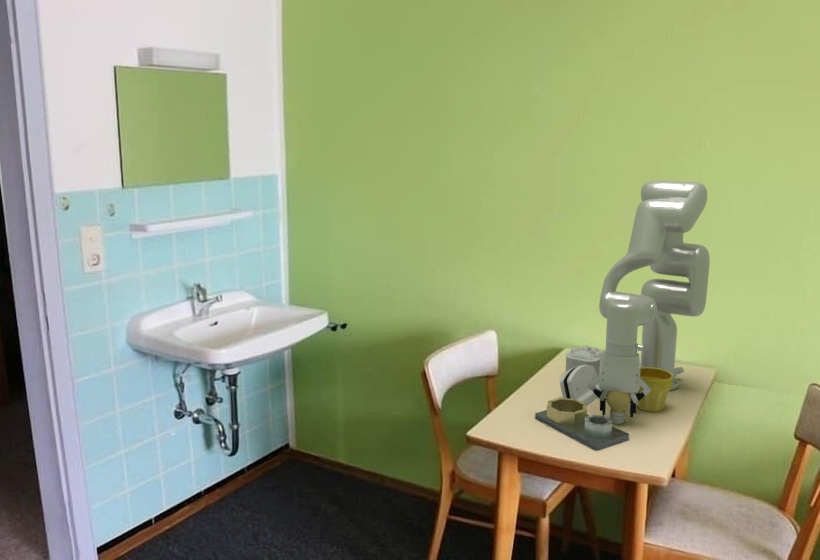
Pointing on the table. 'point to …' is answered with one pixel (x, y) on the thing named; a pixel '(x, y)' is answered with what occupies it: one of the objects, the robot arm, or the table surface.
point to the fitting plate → (581, 423)
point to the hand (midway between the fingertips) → (617, 414)
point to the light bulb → (618, 405)
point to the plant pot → (655, 388)
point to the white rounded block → (579, 384)
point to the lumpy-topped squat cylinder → (584, 357)
